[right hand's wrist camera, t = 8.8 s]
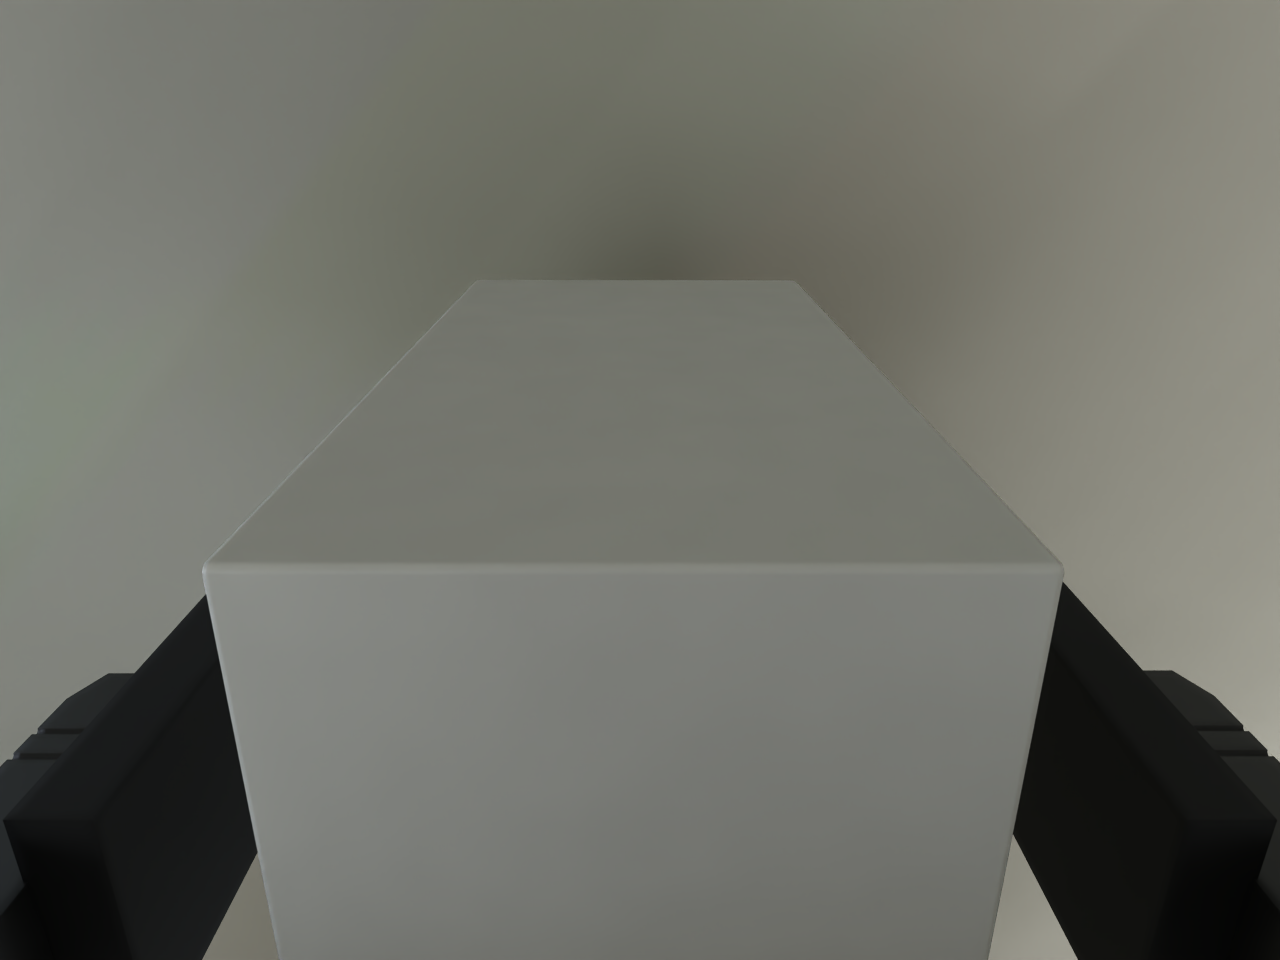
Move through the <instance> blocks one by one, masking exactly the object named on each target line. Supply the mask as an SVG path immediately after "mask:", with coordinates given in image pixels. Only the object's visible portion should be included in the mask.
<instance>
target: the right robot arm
mask: <svg viewBox="0 0 1280 960" xmlns="http://www.w3.org/2000/svg"><path fill="white" fill-rule="evenodd" d="M1013 835H1014V837H1015V839H1016V841H1017V842H1018V844H1019V846H1020V848H1021V850H1022V852H1023V854H1024V856H1025V858H1026V860H1027V862H1028V864H1029V866H1030V868H1031V870H1032V872H1033V873H1034V875H1035V877H1036V879H1037V881H1038V883H1039V885H1040V887H1041V889H1042V891H1043V893H1044V895H1045V897H1046V899H1047V901H1048V902H1049V904H1050V906H1051V908H1052V910H1053V912H1054V914H1055V916H1056V918H1057V920H1058V922H1059V924H1060V926H1061V928H1062V930H1063V931H1064V933H1065V935H1066V937H1067V939H1068V941H1069V943H1070V945H1071V947H1072V949H1073V951H1074V953H1075V955H1076V957H1077V959H1078V960H1280V762H1279V761H1278V760H1277V759H1276V758H1275V757H1274V756H1268V753H1267V749H1266V748H1265V747H1264V746H1263V745H1262V744H1261V743H1260V742H1259V741H1258V740H1257V739H1256V738H1255V737H1254V736H1253V735H1252V734H1251V733H1250V732H1249V731H1244V730H1243V725H1242V724H1241V723H1240V722H1239V721H1238V720H1237V719H1236V718H1235V717H1234V716H1233V715H1232V714H1231V712H1230V711H1229V710H1228V709H1227V708H1226V707H1225V706H1224V705H1223V704H1222V703H1221V702H1220V701H1219V700H1218V699H1217V698H1216V697H1215V696H1214V695H1212V694H1210V693H1209V692H1207V691H1205V690H1204V689H1202V688H1200V687H1199V686H1197V685H1195V684H1194V683H1192V682H1190V681H1189V680H1187V679H1185V678H1184V677H1182V676H1180V675H1179V674H1177V673H1175V672H1174V671H1143V670H1142V669H1141V668H1140V667H1139V666H1138V665H1137V664H1136V662H1135V661H1134V660H1133V659H1132V658H1131V657H1130V656H1129V655H1128V654H1127V652H1126V651H1125V650H1124V649H1123V648H1122V647H1121V646H1120V645H1119V644H1118V642H1117V641H1116V640H1115V639H1114V638H1113V637H1112V636H1111V635H1110V634H1109V632H1108V631H1107V630H1106V629H1105V628H1104V627H1103V626H1102V625H1101V624H1100V622H1099V621H1098V620H1097V619H1096V618H1095V617H1094V616H1093V615H1092V614H1091V612H1090V611H1089V610H1088V609H1087V608H1086V607H1085V606H1084V605H1083V604H1082V602H1081V601H1080V600H1079V599H1078V598H1077V597H1076V596H1075V595H1074V594H1073V592H1072V591H1071V590H1070V589H1069V588H1068V587H1067V586H1066V585H1065V584H1064V582H1062V587H1061V592H1060V597H1059V602H1058V607H1057V612H1056V617H1055V622H1054V627H1053V632H1052V637H1051V643H1050V648H1049V653H1048V658H1047V663H1046V668H1045V673H1044V678H1043V683H1042V688H1041V693H1040V698H1039V703H1038V708H1037V713H1036V718H1035V724H1034V729H1033V734H1032V739H1031V744H1030V749H1029V754H1028V759H1027V764H1026V769H1025V774H1024V779H1023V784H1022V789H1021V794H1020V800H1019V805H1018V810H1017V815H1016V820H1015V825H1014V830H1013ZM257 852H258V851H257V846H256V841H255V836H254V831H253V826H252V821H251V816H250V811H249V806H248V801H247V796H246V791H245V786H244V781H243V776H242V771H241V766H240V761H239V756H238V751H237V746H236V741H235V736H234V731H233V726H232V721H231V716H230V711H229V706H228V701H227V696H226V691H225V686H224V681H223V676H222V671H221V666H220V661H219V656H218V651H217V646H216V641H215V635H214V630H213V625H212V620H211V615H210V610H209V605H208V600H207V595H205V596H204V597H203V598H202V599H201V600H200V601H199V602H198V604H197V605H196V606H195V607H194V608H193V609H192V610H191V611H190V612H189V614H188V615H187V616H186V617H185V618H184V619H183V620H182V621H181V622H180V624H179V625H178V626H177V627H176V628H175V629H174V630H173V631H172V632H171V634H170V635H169V636H168V637H167V638H166V639H165V640H164V641H163V642H162V644H161V645H160V646H159V647H158V648H157V649H156V650H155V651H154V652H153V654H152V655H151V656H150V657H149V658H148V659H147V660H146V661H145V662H144V664H143V665H142V666H141V667H140V668H139V669H138V670H137V671H136V672H135V673H108V674H107V675H105V676H103V677H102V678H100V679H99V680H97V681H95V682H94V683H92V684H90V685H89V686H87V687H85V688H84V689H82V690H80V691H79V692H77V693H75V694H74V695H72V696H71V697H69V698H67V699H66V700H65V701H64V702H63V703H62V704H61V705H60V706H59V707H58V708H57V709H56V710H55V711H54V712H53V713H52V714H51V715H50V716H49V717H48V718H47V719H46V721H45V722H44V723H43V724H42V725H41V726H40V727H39V728H38V732H37V734H32V735H31V736H30V737H29V738H28V739H27V740H26V741H25V742H24V743H23V744H22V745H21V746H20V747H19V748H18V749H17V750H16V751H15V752H14V756H13V759H12V760H6V761H5V762H4V763H3V764H2V766H1V767H0V960H202V959H203V957H204V955H205V953H206V951H207V949H208V947H209V945H210V943H211V941H212V939H213V937H214V935H215V933H216V931H217V930H218V928H219V926H220V924H221V922H222V920H223V918H224V916H225V914H226V912H227V910H228V908H229V906H230V904H231V902H232V900H233V899H234V897H235V895H236V893H237V891H238V889H239V887H240V885H241V883H242V881H243V879H244V877H245V875H246V873H247V871H248V870H249V868H250V866H251V864H252V862H253V860H254V858H255V856H256V854H257Z"/></svg>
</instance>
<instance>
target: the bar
mask: <svg viewBox="0 0 1280 960" xmlns="http://www.w3.org/2000/svg"><path fill="white" fill-rule="evenodd" d="M202 575H203V580H204V585H205V590H206V595H207V600H208V605H209V610H210V615H211V620H212V625H213V630H214V635H215V641H216V646H217V651H218V656H219V661H220V666H221V671H222V676H223V681H224V686H225V691H226V696H227V701H228V706H229V711H230V716H231V721H232V726H233V731H234V736H235V741H236V746H237V751H238V756H239V761H240V766H241V771H242V776H243V781H244V786H245V791H246V796H247V801H248V806H249V811H250V816H251V821H252V826H253V831H254V836H255V841H256V846H257V851H258V856H259V861H260V866H261V871H262V876H263V881H264V886H265V891H266V896H267V901H268V906H269V911H270V916H271V921H272V926H273V931H274V936H275V941H276V946H277V951H278V957H279V960H988V956H989V951H990V946H991V941H992V936H993V931H994V926H995V921H996V916H997V911H998V906H999V901H1000V896H1001V891H1002V886H1003V881H1004V875H1005V870H1006V865H1007V860H1008V855H1009V850H1010V845H1011V840H1012V835H1013V830H1014V825H1015V820H1016V815H1017V810H1018V805H1019V800H1020V794H1021V789H1022V784H1023V779H1024V774H1025V769H1026V764H1027V759H1028V754H1029V749H1030V744H1031V739H1032V734H1033V729H1034V724H1035V718H1036V713H1037V708H1038V703H1039V698H1040V693H1041V688H1042V683H1043V678H1044V673H1045V668H1046V663H1047V658H1048V653H1049V648H1050V643H1051V637H1052V632H1053V627H1054V622H1055V617H1056V612H1057V607H1058V602H1059V597H1060V592H1061V587H1062V582H1063V577H1064V569H1063V565H1062V563H1061V562H1060V561H1059V560H1058V559H1057V558H1056V557H1055V556H1054V555H1053V554H1052V552H1051V551H1050V550H1049V549H1048V548H1047V547H1046V546H1045V545H1044V544H1043V543H1042V542H1041V541H1040V540H1039V539H1038V538H1037V537H1036V536H1035V534H1034V533H1033V532H1032V531H1031V530H1030V529H1029V528H1028V527H1027V526H1026V525H1025V524H1024V523H1023V522H1022V521H1021V520H1020V519H1019V518H1018V516H1017V515H1016V514H1015V513H1014V512H1013V511H1012V510H1011V509H1010V508H1009V507H1008V506H1007V505H1006V504H1005V503H1004V502H1003V501H1002V499H1001V498H1000V497H999V496H998V495H997V494H996V493H995V492H994V491H993V490H992V489H991V488H990V487H989V486H988V485H987V484H986V483H985V481H984V480H983V479H982V478H981V477H980V476H979V475H978V474H977V473H976V472H975V471H974V470H973V469H972V468H971V467H970V466H969V465H968V463H967V462H966V461H965V460H964V459H963V458H962V457H961V456H960V455H959V454H958V453H957V452H956V451H955V450H954V449H953V448H952V447H951V445H950V444H949V443H948V442H947V441H946V440H945V439H944V438H943V437H942V436H941V435H940V434H939V433H938V432H937V431H936V430H935V428H934V427H933V426H932V425H931V424H930V423H929V422H928V421H927V420H926V419H925V418H924V417H923V416H922V415H921V414H920V413H919V412H918V410H917V409H916V408H915V407H914V406H913V405H912V404H911V403H910V402H909V401H908V400H907V399H906V398H905V397H904V396H903V395H902V394H901V392H900V391H899V390H898V389H897V388H896V387H895V386H894V385H893V384H892V383H891V382H890V381H889V380H888V379H887V378H886V377H885V376H884V374H883V373H882V372H881V371H880V370H879V369H878V368H877V367H876V366H875V365H874V364H873V363H872V362H871V361H870V360H869V359H868V357H867V356H866V355H865V354H864V353H863V352H862V351H861V350H860V349H859V348H858V347H857V346H856V345H855V344H854V343H853V342H852V341H851V339H850V338H849V337H848V336H847V335H846V334H845V333H844V332H843V331H842V330H841V329H840V328H839V327H838V326H837V325H836V324H835V323H834V321H833V320H832V319H831V318H830V317H829V316H828V315H827V314H826V313H825V312H824V311H823V310H822V309H821V308H820V307H819V306H818V305H817V303H816V302H815V301H814V300H813V299H812V298H811V297H810V296H809V295H808V294H807V293H806V292H805V291H804V290H803V289H802V288H801V286H800V285H799V284H798V283H797V282H796V281H794V280H477V281H475V282H474V283H473V284H472V285H471V286H470V287H469V288H468V289H467V290H466V292H465V293H464V294H463V295H462V296H461V297H460V298H459V299H458V300H457V301H456V302H455V303H454V304H453V305H452V306H451V307H450V308H449V309H448V310H447V311H446V312H445V313H444V314H443V315H442V316H441V318H440V319H439V320H438V321H437V322H436V323H435V324H434V325H433V326H432V327H431V328H430V329H429V330H428V331H427V332H426V333H425V334H424V335H423V336H422V337H421V338H420V339H419V340H418V341H417V343H416V344H415V345H414V346H413V347H412V348H411V349H410V350H409V351H408V352H407V353H406V354H405V355H404V356H403V357H402V358H401V359H400V360H399V361H398V362H397V363H396V364H395V365H394V366H393V367H392V369H391V370H390V371H389V372H388V373H387V374H386V375H385V376H384V377H383V378H382V379H381V380H380V381H379V382H378V383H377V384H376V385H375V386H374V387H373V388H372V389H371V390H370V391H369V392H368V393H367V395H366V396H365V397H364V398H363V399H362V400H361V401H360V402H359V403H358V404H357V405H356V406H355V407H354V408H353V409H352V410H351V411H350V412H349V413H348V414H347V415H346V416H345V417H344V418H343V419H342V421H341V422H340V423H339V424H338V425H337V426H336V427H335V428H334V429H333V430H332V431H331V432H330V433H329V434H328V435H327V436H326V437H325V438H324V439H323V440H322V441H321V442H320V443H319V444H318V446H317V447H316V448H315V449H314V450H313V451H312V452H311V453H310V454H309V455H308V456H307V457H306V458H305V459H304V460H303V461H302V462H301V463H300V464H299V465H298V466H297V467H296V468H295V469H294V470H293V472H292V473H291V474H290V475H289V476H288V477H287V478H286V479H285V480H284V481H283V482H282V483H281V484H280V485H279V486H278V487H277V488H276V489H275V490H274V491H273V492H272V493H271V494H270V495H269V496H268V498H267V499H266V500H265V501H264V502H263V503H262V504H261V505H260V506H259V507H258V508H257V509H256V510H255V511H254V512H253V513H252V514H251V515H250V516H249V517H248V518H247V519H246V520H245V521H244V523H243V524H242V525H241V526H240V527H239V528H238V529H237V530H236V531H235V532H234V533H233V534H232V535H231V536H230V537H229V538H228V539H227V540H226V541H225V542H224V543H223V544H222V545H221V546H220V547H219V549H218V550H217V551H216V552H215V553H214V554H213V555H212V556H211V557H210V558H209V559H208V560H207V561H206V562H205V563H204V566H203V570H202Z"/></svg>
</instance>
